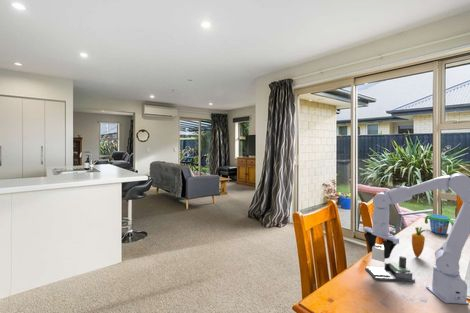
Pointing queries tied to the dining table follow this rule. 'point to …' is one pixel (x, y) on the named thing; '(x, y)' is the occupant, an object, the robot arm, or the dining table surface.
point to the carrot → (418, 242)
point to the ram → (400, 265)
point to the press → (389, 274)
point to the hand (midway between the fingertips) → (379, 254)
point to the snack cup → (439, 223)
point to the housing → (378, 252)
